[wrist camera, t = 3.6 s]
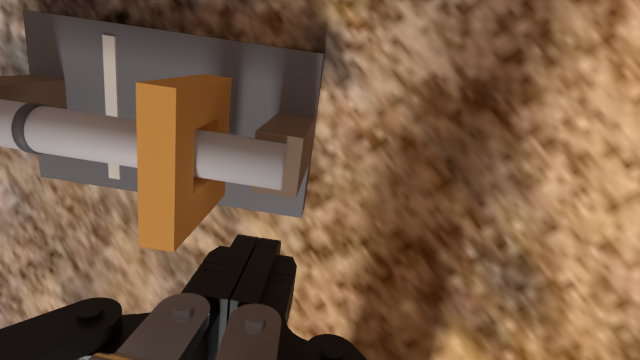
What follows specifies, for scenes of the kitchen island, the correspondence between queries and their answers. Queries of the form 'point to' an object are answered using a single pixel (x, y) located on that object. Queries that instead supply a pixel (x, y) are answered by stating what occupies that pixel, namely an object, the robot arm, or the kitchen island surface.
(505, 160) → the kitchen island surface
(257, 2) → the kitchen island surface
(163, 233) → the orange square ring
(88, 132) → the pipe stand
